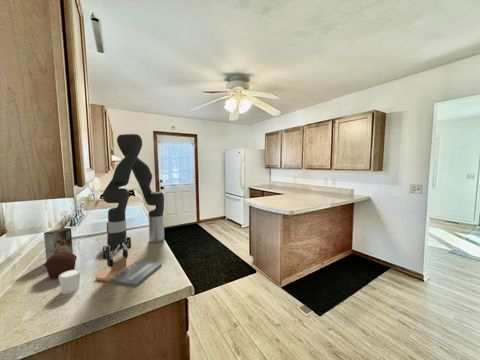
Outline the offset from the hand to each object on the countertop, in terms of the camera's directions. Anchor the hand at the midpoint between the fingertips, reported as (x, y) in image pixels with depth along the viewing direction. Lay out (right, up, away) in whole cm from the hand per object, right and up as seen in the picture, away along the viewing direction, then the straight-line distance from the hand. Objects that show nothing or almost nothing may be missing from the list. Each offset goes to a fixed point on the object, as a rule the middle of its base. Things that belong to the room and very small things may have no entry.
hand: (118, 262), depth 96 cm
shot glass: (-11, -6, -14) cm, 19 cm away
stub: (0, -4, +1) cm, 4 cm away
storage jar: (-20, -2, +31) cm, 37 cm away
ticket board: (+11, -5, -2) cm, 12 cm away
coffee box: (-39, -3, +11) cm, 40 cm away
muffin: (-25, -5, -3) cm, 25 cm away
